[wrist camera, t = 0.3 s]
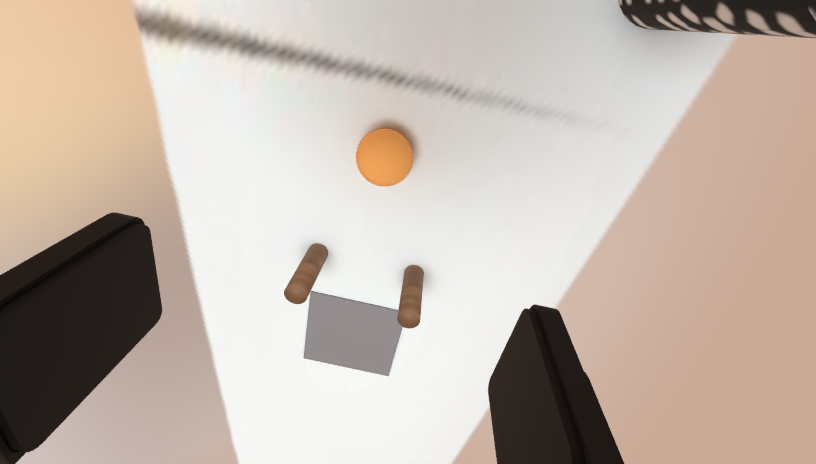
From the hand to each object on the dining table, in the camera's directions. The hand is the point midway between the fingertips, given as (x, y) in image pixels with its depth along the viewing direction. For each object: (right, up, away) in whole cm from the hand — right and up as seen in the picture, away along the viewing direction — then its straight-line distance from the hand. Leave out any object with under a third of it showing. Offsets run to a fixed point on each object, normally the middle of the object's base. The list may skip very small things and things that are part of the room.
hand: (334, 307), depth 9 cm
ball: (-1, +10, +30) cm, 32 cm away
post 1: (-10, -1, +41) cm, 42 cm away
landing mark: (-7, -14, +48) cm, 50 cm away
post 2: (+3, -4, +41) cm, 41 cm away
